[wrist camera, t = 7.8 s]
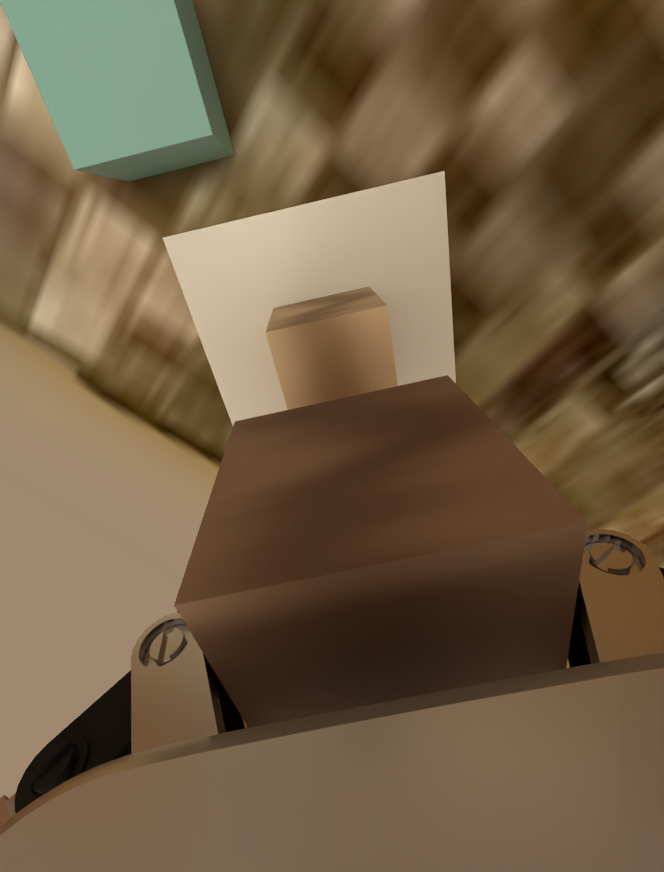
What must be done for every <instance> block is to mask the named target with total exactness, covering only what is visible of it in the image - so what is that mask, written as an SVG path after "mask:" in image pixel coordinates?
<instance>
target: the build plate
mask: <svg viewBox="0 0 664 872" xmlns="http://www.w3.org/2000/svg"><path fill="white" fill-rule="evenodd" d="M163 240H164V243H165V246H166V248H167V251H168V254H169V256H170V259H171V262H172V264H173V267H174V270H175V272H176V275H177V278H178V280H179V283H180V286H181V288H182V291H183V294H184V297H185V299H186V302H187V305H188V307H189V310H190V313H191V315H192V318H193V321H194V323H195V326H196V329H197V331H198V334H199V337H200V339H201V342H202V345H203V347H204V350H205V353H206V356H207V358H208V361H209V364H210V366H211V369H212V372H213V374H214V377H215V380H216V382H217V385H218V388H219V390H220V393H221V396H222V398H223V401H224V404H225V406H226V409H227V412H228V414H229V417H230V420H231V423H232V425H234V422H235V421H239V420H244V419H249V418H253V417H258V416H262V415H267V414H272V413H276V412H281V411H285V410H288V409H287V406H286V402H285V399H284V395H283V392H282V388H281V385H280V381H279V378H278V375H277V371H276V368H275V364H274V361H273V357H272V354H271V350H270V347H269V343H268V340H267V336H266V333H265V332H266V329H267V326H268V323H269V320H270V317H271V314H272V311H273V308H276V307H280V306H284V305H289V304H293V303H298V302H302V301H306V300H311V299H315V298H320V297H324V296H329V295H333V294H337V293H342V292H346V291H351V290H355V289H359V288H364V287H368V286H369V287H370V288H371V289H372V290H373V291H374V292H375V293H376V294H377V295H378V296H379V297H380V298H381V299H382V300H383V301H384V302H385V303H386V304H387V308H388V316H389V323H390V331H391V338H392V346H393V353H394V361H395V369H396V376H397V384H398V386H400V385H405V384H409V383H414V382H419V381H423V380H428V379H432V378H437V377H442V376H446V375H448V376H449V377H450V378H451V379H452V380H453V381H454V382H455V383H456V375H455V357H454V338H453V319H452V301H451V282H450V264H449V245H448V226H447V208H446V189H445V171H442V172H438V173H433V174H429V175H425V176H421V177H417V178H412V179H408V180H404V181H400V182H396V183H391V184H387V185H383V186H379V187H375V188H370V189H366V190H362V191H358V192H353V193H349V194H345V195H341V196H337V197H332V198H328V199H324V200H320V201H316V202H311V203H307V204H303V205H299V206H294V207H290V208H286V209H282V210H278V211H273V212H269V213H265V214H261V215H257V216H252V217H248V218H244V219H240V220H235V221H231V222H227V223H223V224H219V225H214V226H210V227H206V228H202V229H198V230H193V231H189V232H185V233H181V234H177V235H172V236H168V237H164V238H163Z"/></svg>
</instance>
